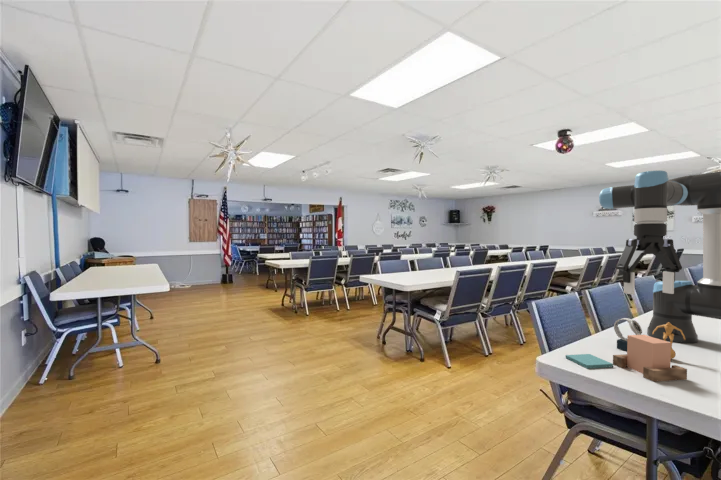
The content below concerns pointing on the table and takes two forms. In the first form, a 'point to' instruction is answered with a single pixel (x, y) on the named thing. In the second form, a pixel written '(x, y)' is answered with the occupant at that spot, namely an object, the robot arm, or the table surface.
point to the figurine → (669, 329)
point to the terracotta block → (647, 352)
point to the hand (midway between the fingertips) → (648, 293)
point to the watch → (623, 341)
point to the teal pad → (589, 361)
